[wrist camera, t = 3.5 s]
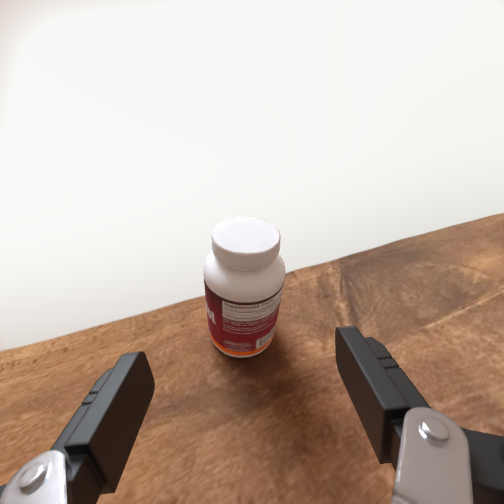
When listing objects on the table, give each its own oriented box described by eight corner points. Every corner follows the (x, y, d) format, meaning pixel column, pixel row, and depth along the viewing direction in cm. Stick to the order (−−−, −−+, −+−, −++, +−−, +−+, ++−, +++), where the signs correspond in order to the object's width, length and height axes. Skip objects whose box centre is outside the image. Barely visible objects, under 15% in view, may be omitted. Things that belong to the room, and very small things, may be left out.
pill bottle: (213, 303, 26) (208, 208, 19) (272, 306, 26) (287, 212, 19) (203, 359, 21) (190, 258, 14) (275, 363, 21) (297, 264, 14)
